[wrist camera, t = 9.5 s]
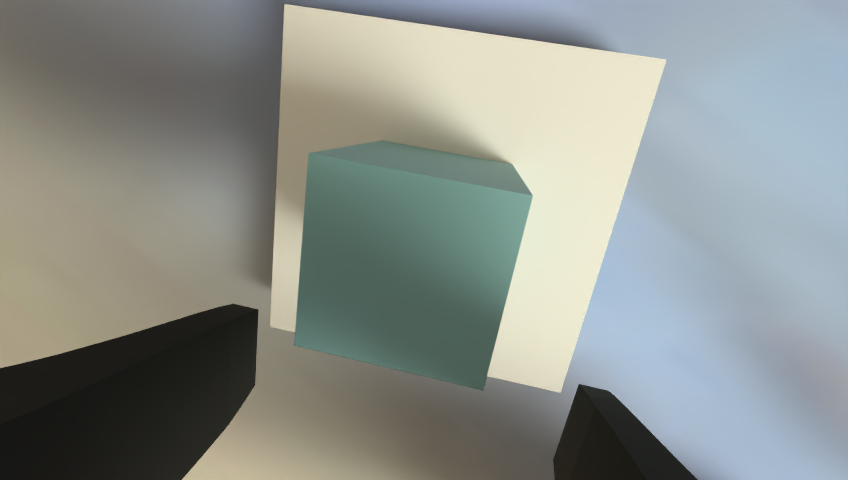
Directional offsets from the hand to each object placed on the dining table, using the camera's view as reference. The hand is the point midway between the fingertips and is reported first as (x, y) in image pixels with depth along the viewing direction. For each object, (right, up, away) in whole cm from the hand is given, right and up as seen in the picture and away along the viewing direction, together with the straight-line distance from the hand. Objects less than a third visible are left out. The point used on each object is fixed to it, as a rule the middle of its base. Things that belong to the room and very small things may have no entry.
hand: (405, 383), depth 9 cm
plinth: (+1, +5, +8) cm, 9 cm away
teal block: (+1, +4, +5) cm, 7 cm away
